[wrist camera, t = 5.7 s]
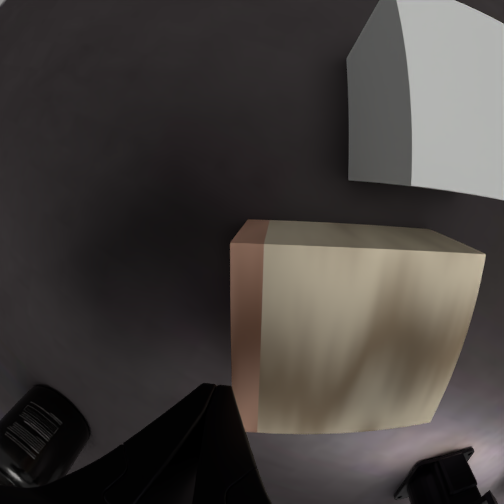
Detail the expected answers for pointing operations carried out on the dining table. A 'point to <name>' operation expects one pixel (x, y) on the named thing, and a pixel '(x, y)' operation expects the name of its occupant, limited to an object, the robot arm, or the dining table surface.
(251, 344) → the birch block
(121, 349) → the dining table surface
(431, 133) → the grey block
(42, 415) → the supplement bottle
